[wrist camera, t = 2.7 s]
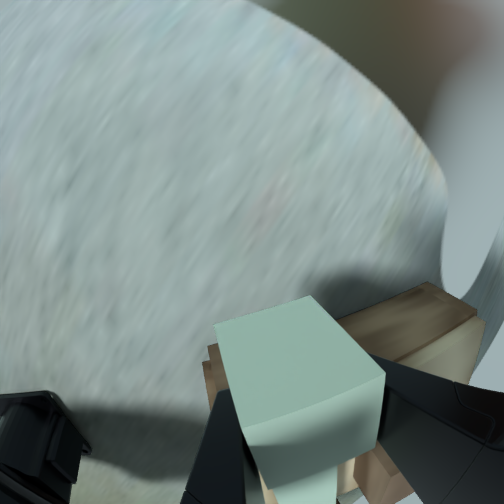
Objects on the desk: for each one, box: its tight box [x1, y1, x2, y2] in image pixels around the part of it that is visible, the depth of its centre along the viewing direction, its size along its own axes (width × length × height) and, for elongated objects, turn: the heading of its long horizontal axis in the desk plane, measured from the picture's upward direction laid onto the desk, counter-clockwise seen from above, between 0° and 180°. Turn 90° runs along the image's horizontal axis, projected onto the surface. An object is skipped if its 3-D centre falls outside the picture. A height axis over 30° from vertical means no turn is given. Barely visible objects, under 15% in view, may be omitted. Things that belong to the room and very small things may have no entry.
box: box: [202, 282, 477, 504], centre depth 16 cm, size 16×14×8 cm
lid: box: [259, 316, 486, 504], centre depth 13 cm, size 16×11×5 cm
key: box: [213, 295, 386, 504], centre depth 10 cm, size 3×21×4 cm, turn 12°
